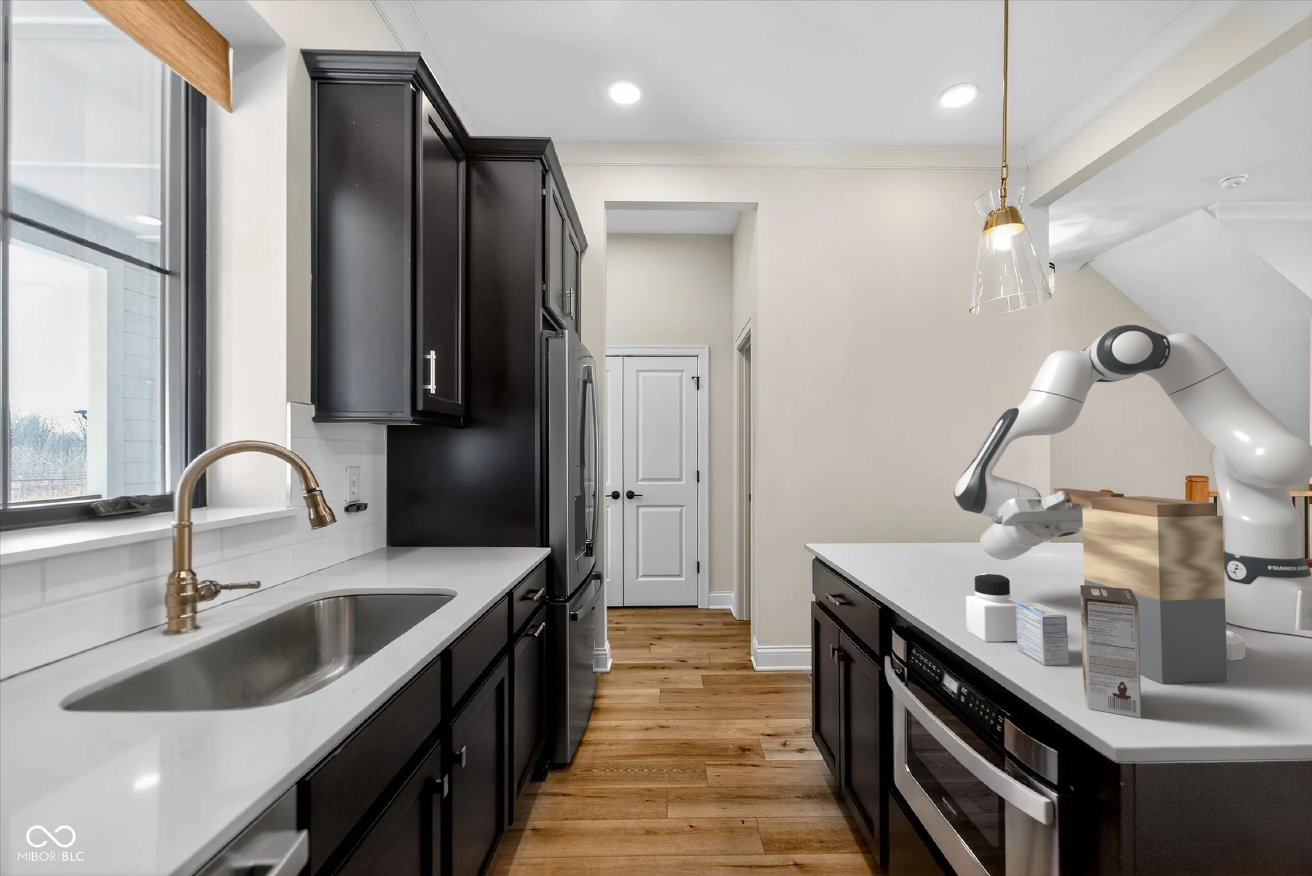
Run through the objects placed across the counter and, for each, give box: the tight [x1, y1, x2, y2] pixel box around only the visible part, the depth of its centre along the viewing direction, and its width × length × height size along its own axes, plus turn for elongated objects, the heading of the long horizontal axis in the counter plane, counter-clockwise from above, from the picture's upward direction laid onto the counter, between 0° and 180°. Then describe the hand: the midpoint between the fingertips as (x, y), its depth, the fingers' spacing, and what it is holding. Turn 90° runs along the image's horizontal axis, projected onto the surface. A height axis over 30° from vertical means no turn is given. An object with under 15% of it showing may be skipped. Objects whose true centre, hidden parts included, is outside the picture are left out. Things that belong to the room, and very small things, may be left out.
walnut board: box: [1053, 487, 1217, 517], centre depth 108 cm, size 10×27×2 cm, turn 4°
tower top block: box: [1082, 508, 1225, 601], centre depth 101 cm, size 11×15×13 cm
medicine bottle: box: [965, 573, 1019, 643], centre depth 117 cm, size 7×7×12 cm
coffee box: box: [1080, 584, 1142, 719], centre depth 87 cm, size 9×6×16 cm
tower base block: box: [1083, 578, 1228, 685], centre depth 101 cm, size 11×15×13 cm
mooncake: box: [1226, 629, 1246, 661], centre depth 109 cm, size 12×12×4 cm
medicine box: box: [1016, 602, 1070, 666], centre depth 105 cm, size 8×4×9 cm, turn 179°
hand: (1075, 494), depth 117 cm, fingers closed on walnut board, 2 cm apart
